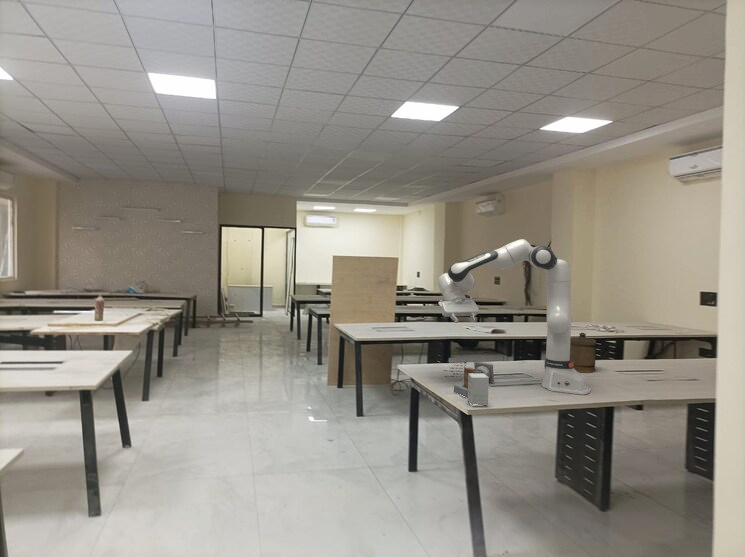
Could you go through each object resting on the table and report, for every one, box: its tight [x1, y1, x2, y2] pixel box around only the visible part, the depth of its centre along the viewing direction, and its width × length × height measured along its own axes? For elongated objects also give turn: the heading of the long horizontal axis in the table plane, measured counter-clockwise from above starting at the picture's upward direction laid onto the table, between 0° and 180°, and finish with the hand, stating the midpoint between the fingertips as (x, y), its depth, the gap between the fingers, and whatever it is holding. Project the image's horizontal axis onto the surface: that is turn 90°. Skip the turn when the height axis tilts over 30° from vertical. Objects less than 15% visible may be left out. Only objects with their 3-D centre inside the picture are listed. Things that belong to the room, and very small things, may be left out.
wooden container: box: [570, 332, 597, 374], centre depth 279 cm, size 15×15×22 cm
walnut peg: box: [463, 367, 475, 389], centre depth 222 cm, size 4×4×12 cm
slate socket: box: [453, 383, 468, 398], centre depth 222 cm, size 10×10×4 cm
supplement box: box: [467, 373, 490, 406], centre depth 207 cm, size 7×7×13 cm
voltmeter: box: [442, 361, 495, 384], centre depth 245 cm, size 27×11×10 cm, turn 86°
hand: (465, 321), depth 235 cm, fingers open, 8 cm apart
